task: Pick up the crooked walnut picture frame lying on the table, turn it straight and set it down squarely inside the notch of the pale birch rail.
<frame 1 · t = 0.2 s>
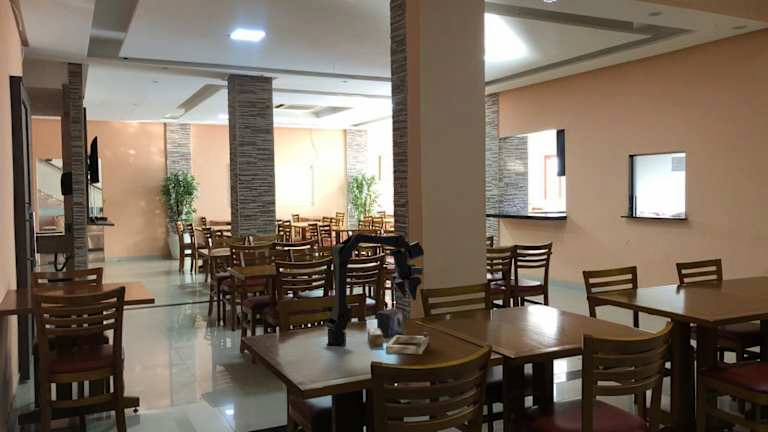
hand: (409, 298, 264), 15 cm above the table, tool pointing down, fingers open, 9 cm apart
frame: (375, 343, 250), on the table
frame rail: (407, 347, 242), on the table
small box: (390, 335, 264), on the table
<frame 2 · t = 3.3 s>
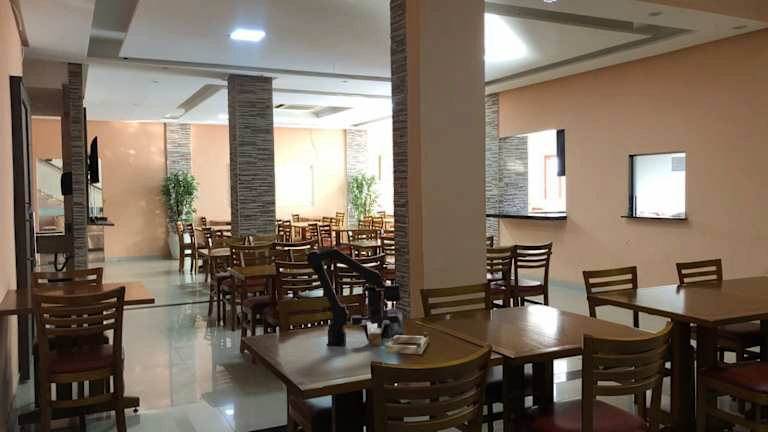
hand: (375, 340, 249), 1 cm above the table, tool pointing down, fingers closed on frame, 5 cm apart
frame: (375, 343, 250), on the table, touching gripper
everything else where it was.
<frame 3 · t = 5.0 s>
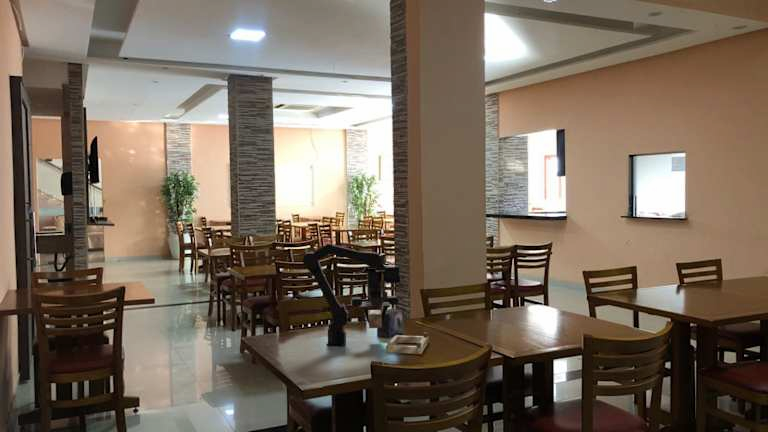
hand: (375, 322, 249), 8 cm above the table, tool pointing down, fingers closed on frame, 5 cm apart
frame: (375, 325, 249), point 7 cm above the table, touching gripper
everything else where it was.
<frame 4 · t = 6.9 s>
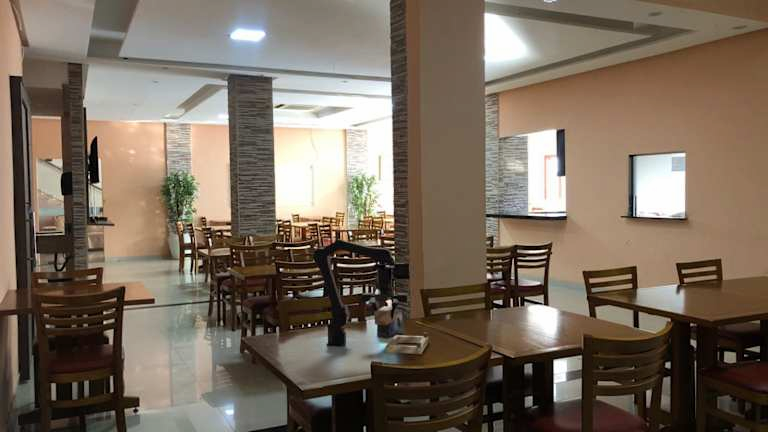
hand: (385, 319, 247), 10 cm above the table, tool pointing down, fingers closed on frame, 5 cm apart
frame: (385, 321, 247), point 9 cm above the table, touching gripper
everything else where it was.
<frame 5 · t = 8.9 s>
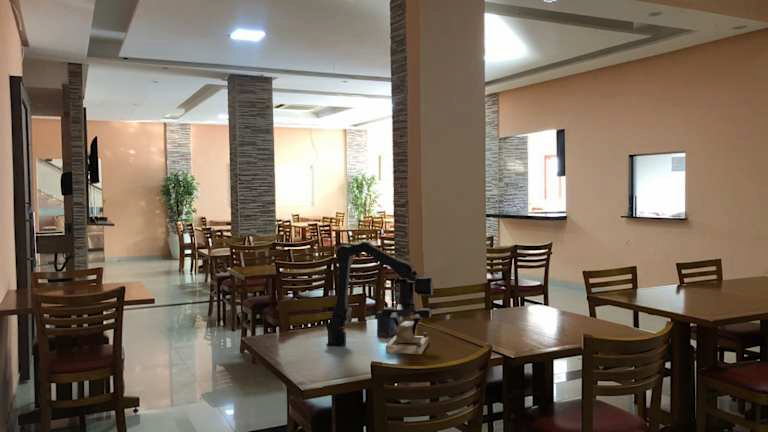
hand: (406, 334, 242), 5 cm above the table, tool pointing down, fingers closed on frame, 5 cm apart
frame: (406, 337, 242), point 4 cm above the table, touching gripper
everything else where it was.
when the fingers open (3 cm above the table, at t = 10.2 s): frame drops 2 cm, resting in frame rail.
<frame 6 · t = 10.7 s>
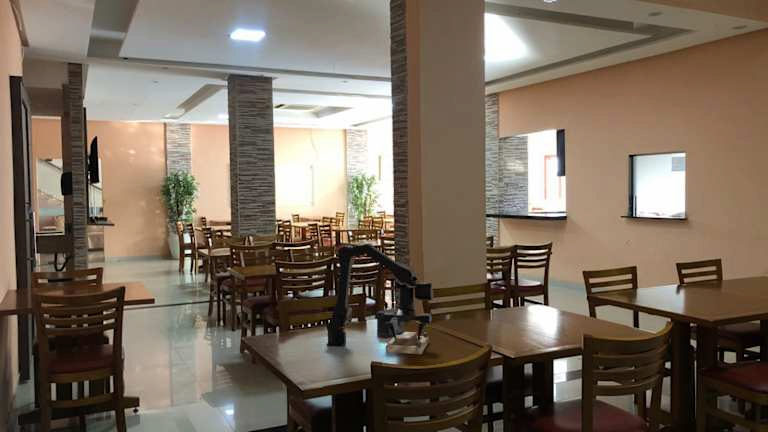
hand: (407, 339, 242), 3 cm above the table, tool pointing down, fingers open, 9 cm apart
frame: (407, 347, 242), resting in frame rail
everything else where it was.
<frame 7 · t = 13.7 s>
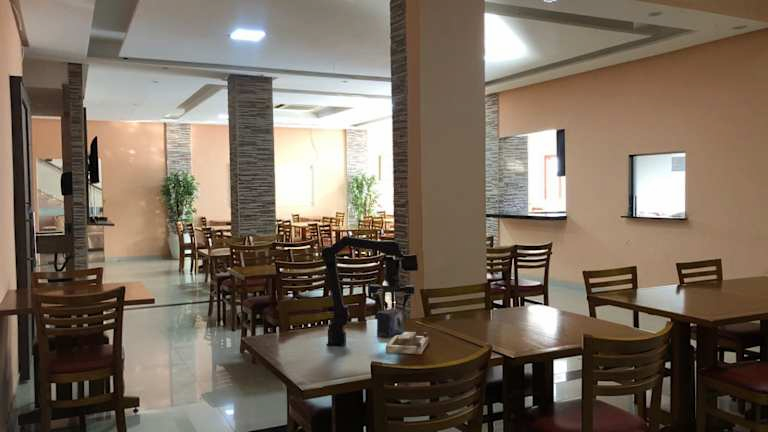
hand: (392, 310, 250), 13 cm above the table, tool pointing down, fingers open, 9 cm apart
nothing on the table moved.
at the end: frame 0.1 cm from the frame rail (horizontally); frame tilted 0°; the gripper is holding nothing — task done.
